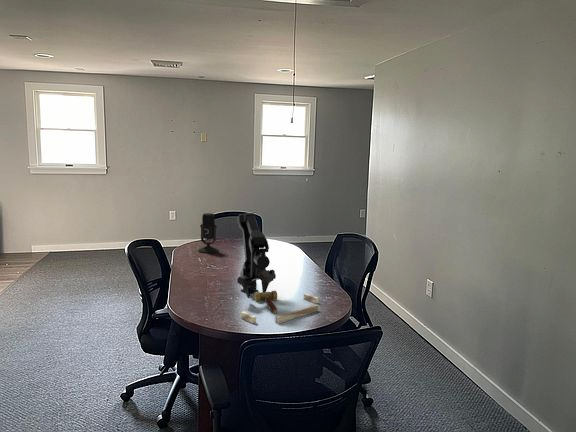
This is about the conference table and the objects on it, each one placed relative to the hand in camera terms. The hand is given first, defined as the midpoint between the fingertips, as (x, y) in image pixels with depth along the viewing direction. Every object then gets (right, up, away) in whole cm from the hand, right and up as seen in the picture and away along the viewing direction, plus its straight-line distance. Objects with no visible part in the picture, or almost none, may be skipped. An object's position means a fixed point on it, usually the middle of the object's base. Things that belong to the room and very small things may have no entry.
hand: (256, 295), depth 212 cm
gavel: (+6, -4, -7) cm, 10 cm away
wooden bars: (+14, -5, -14) cm, 20 cm away
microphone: (-39, +13, +96) cm, 104 cm away
